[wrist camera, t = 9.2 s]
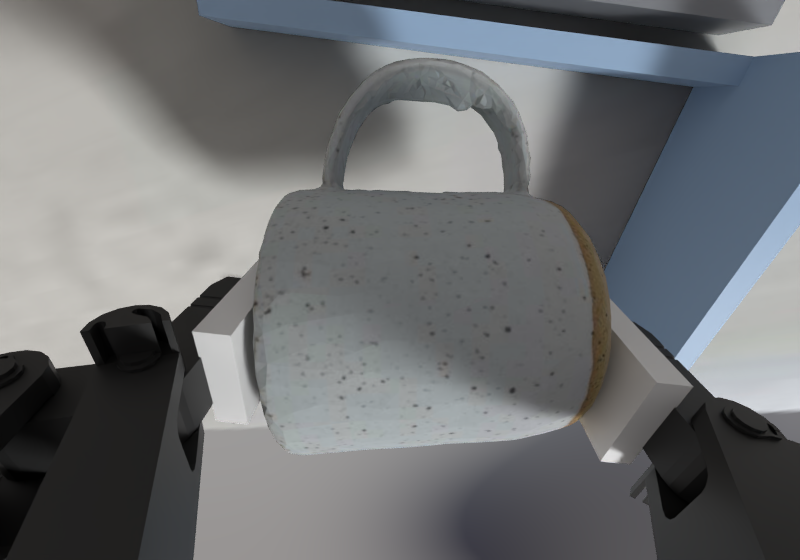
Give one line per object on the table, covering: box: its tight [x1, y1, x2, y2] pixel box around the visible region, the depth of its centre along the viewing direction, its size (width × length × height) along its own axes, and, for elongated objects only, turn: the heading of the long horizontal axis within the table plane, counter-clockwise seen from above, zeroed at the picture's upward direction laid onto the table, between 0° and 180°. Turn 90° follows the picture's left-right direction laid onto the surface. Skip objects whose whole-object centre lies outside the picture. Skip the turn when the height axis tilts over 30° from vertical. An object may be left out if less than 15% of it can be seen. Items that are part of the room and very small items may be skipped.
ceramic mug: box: [253, 58, 611, 455], centre depth 9 cm, size 11×8×8 cm
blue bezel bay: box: [197, 0, 800, 370], centre depth 16 cm, size 23×17×7 cm
